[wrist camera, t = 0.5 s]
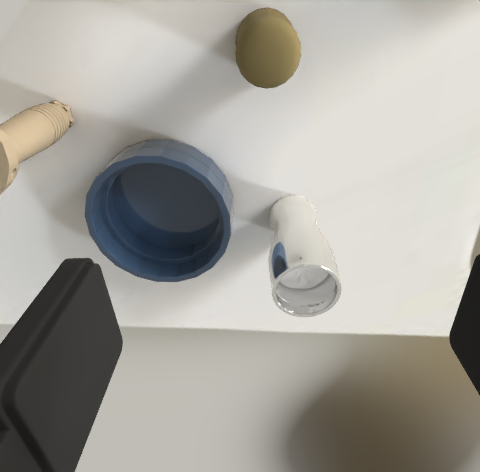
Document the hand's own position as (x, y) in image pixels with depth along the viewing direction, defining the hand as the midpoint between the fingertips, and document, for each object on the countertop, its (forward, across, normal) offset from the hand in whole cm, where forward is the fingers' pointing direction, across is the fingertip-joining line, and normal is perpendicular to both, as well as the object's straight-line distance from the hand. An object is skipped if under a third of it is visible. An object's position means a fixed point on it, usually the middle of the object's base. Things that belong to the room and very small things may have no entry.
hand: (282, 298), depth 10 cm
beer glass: (+35, -4, +17) cm, 39 cm away
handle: (+35, +23, +3) cm, 42 cm away
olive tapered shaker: (+35, 0, -4) cm, 35 cm away
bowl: (+35, +12, +14) cm, 40 cm away
